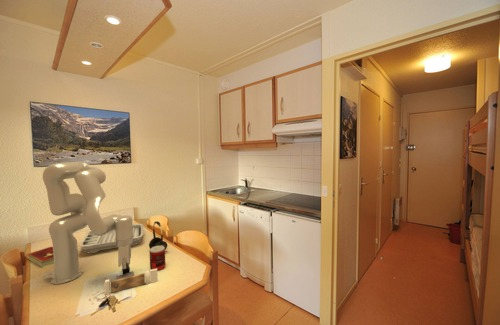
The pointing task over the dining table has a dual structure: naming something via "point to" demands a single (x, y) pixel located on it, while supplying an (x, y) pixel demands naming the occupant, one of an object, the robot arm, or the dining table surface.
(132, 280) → the door
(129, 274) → the doorstop
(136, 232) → the dish rack
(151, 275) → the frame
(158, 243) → the headphones
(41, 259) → the hardcover book
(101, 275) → the dining table surface
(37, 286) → the dining table surface
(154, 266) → the canned food
